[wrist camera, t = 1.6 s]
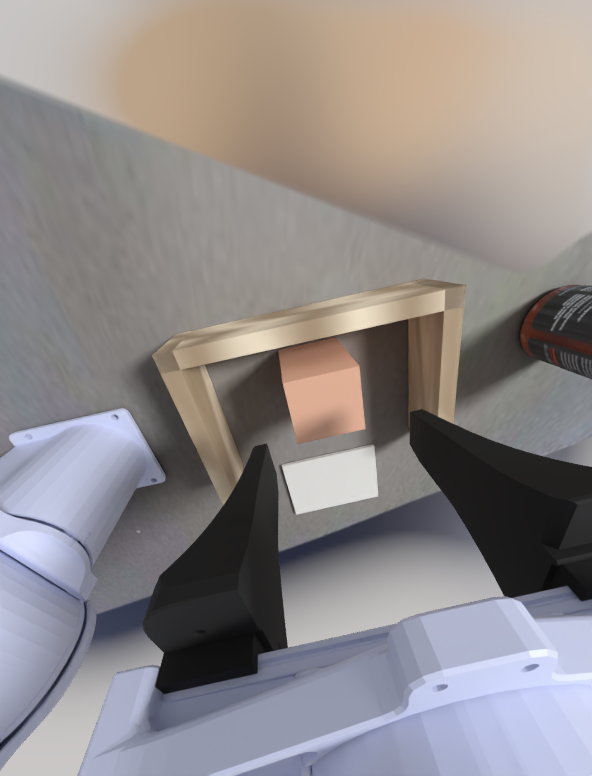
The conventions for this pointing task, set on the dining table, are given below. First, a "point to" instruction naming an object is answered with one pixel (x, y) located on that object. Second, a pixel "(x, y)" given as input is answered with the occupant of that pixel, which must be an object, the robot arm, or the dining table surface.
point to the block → (322, 390)
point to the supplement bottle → (561, 329)
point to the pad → (332, 479)
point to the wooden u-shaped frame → (306, 323)
